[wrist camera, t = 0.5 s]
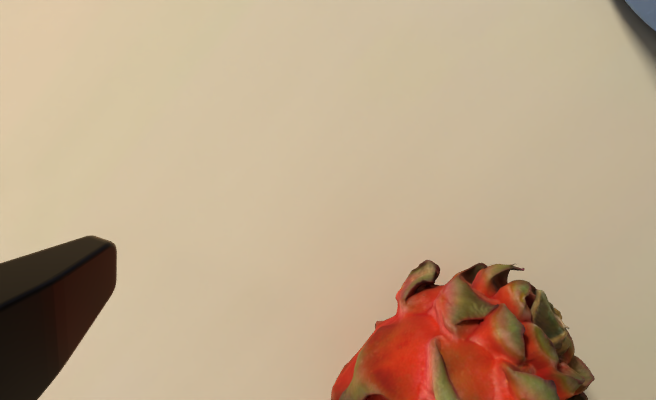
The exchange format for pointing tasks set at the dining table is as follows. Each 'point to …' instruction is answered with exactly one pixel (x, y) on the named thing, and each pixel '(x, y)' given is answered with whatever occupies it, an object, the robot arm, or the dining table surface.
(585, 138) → the dining table surface
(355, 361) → the dragon fruit
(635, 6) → the water jug
